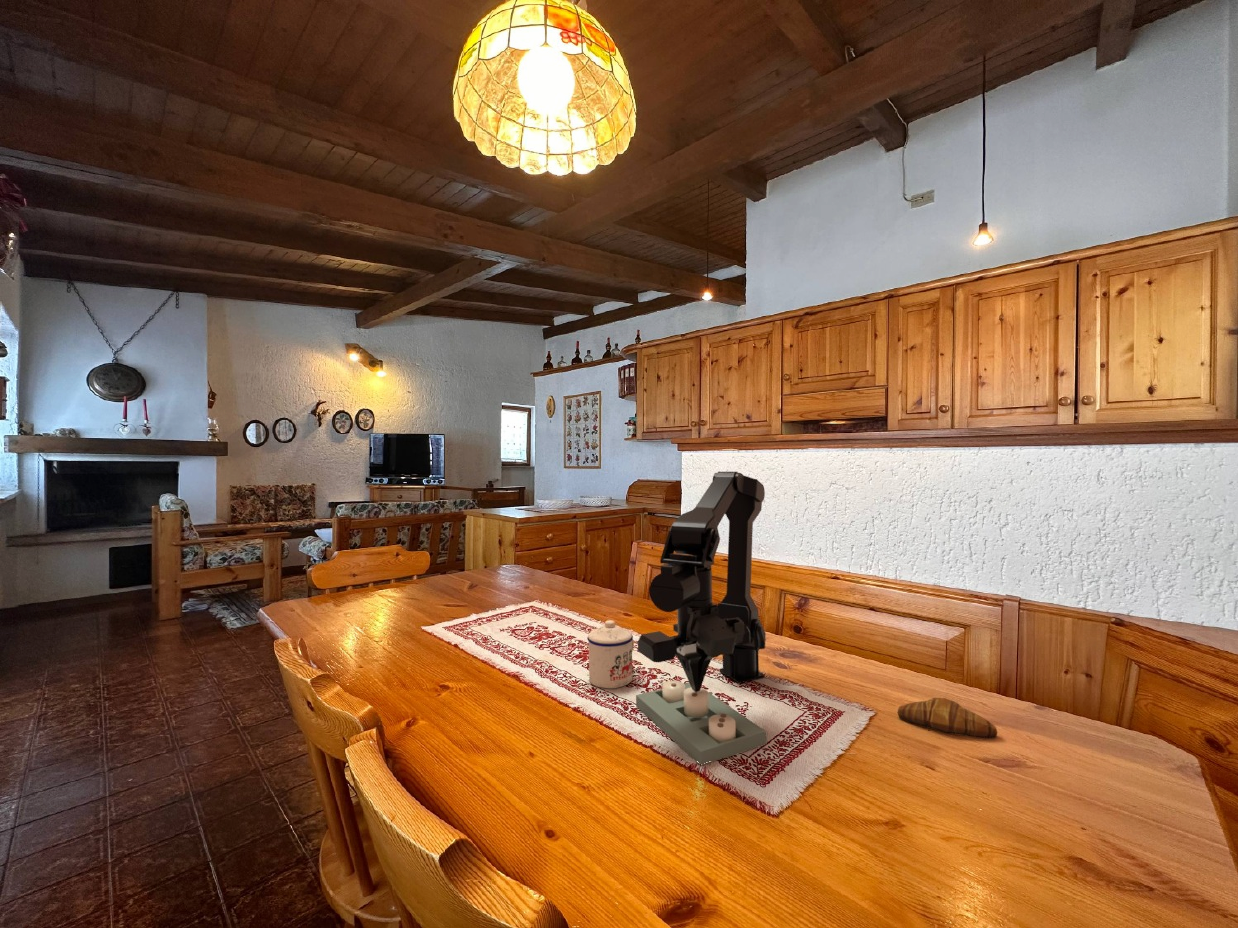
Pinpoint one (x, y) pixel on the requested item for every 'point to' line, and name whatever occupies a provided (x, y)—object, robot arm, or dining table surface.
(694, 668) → the robot arm
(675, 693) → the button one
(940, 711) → the croissant
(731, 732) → the button three
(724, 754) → the board
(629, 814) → the dining table surface
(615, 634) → the teacup with lid
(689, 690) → the button two
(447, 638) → the dining table surface
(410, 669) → the dining table surface
